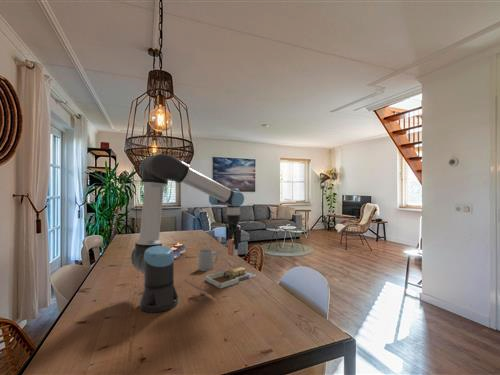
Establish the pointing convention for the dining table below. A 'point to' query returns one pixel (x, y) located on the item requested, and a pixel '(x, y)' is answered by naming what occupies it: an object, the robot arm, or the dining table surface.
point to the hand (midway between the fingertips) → (232, 253)
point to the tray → (220, 285)
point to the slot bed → (242, 276)
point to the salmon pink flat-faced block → (230, 247)
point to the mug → (206, 259)
